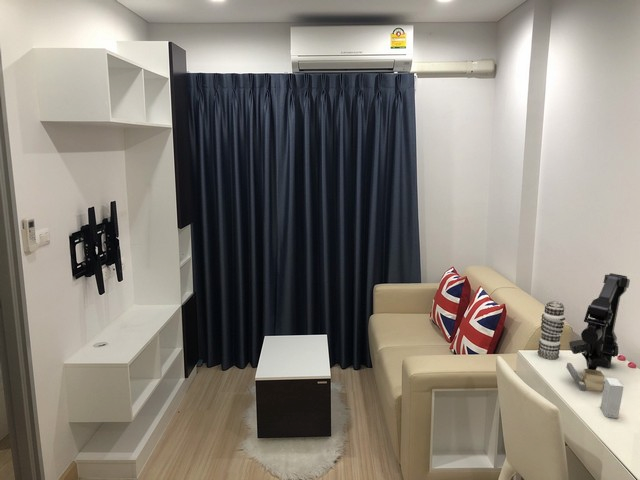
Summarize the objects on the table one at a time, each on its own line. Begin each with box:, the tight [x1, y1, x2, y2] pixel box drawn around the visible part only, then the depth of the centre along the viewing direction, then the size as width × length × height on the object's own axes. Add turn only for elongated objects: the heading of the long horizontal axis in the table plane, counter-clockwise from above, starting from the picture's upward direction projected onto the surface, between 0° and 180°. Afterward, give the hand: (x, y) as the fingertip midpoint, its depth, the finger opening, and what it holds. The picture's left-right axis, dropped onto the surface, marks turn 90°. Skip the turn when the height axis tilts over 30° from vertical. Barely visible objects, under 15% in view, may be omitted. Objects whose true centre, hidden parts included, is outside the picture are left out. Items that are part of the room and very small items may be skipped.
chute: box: [566, 362, 605, 392], centre depth 207 cm, size 20×12×3 cm, turn 169°
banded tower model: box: [537, 300, 566, 360], centre depth 225 cm, size 9×9×25 cm
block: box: [581, 368, 606, 392], centre depth 200 cm, size 5×6×6 cm
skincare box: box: [600, 377, 625, 419], centre depth 184 cm, size 6×4×12 cm
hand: (589, 373), depth 204 cm, fingers closed
